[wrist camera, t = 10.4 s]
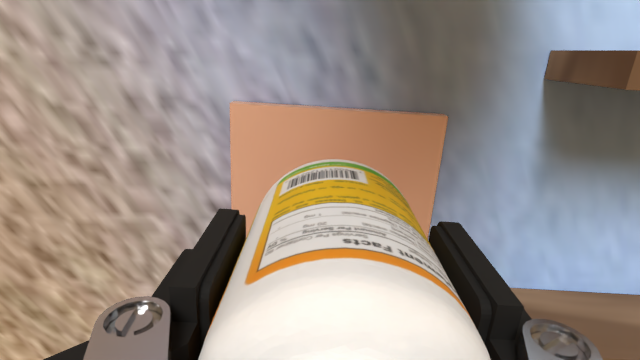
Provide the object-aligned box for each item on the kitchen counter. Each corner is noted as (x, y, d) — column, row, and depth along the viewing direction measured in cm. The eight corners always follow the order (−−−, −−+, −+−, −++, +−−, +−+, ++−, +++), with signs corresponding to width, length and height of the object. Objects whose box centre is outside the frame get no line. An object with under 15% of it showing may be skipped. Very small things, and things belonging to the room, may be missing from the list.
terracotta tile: (414, 292, 17) (417, 300, 16) (236, 282, 17) (232, 290, 16) (443, 113, 14) (448, 116, 14) (233, 101, 14) (229, 103, 14)
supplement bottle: (340, 320, 14) (368, 795, 5) (225, 237, 13) (6, 655, 4) (444, 222, 13) (728, 636, 4) (325, 121, 12) (329, 362, 3)
